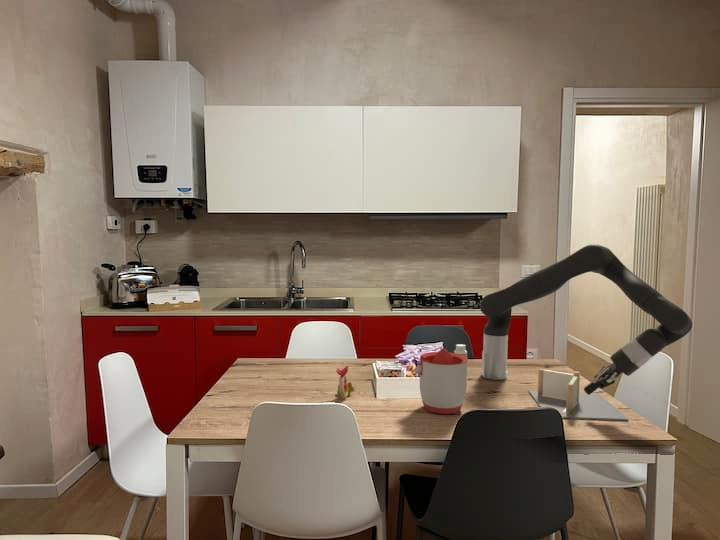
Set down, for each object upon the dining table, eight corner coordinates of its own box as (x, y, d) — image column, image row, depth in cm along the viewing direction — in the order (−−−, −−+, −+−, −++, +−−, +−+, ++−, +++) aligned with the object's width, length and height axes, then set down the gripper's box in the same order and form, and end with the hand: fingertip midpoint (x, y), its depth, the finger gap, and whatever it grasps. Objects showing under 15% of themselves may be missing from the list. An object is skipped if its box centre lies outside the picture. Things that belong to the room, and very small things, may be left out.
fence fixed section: (579, 401, 176) (580, 372, 175) (577, 402, 174) (579, 373, 173) (538, 393, 183) (539, 365, 182) (536, 395, 182) (538, 366, 181)
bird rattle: (353, 405, 177) (355, 387, 185) (351, 380, 172) (354, 363, 180) (335, 405, 178) (337, 387, 186) (333, 380, 173) (336, 362, 180)
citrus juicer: (411, 400, 177) (412, 342, 175) (462, 401, 177) (464, 343, 175) (414, 417, 162) (415, 353, 160) (470, 418, 161) (472, 354, 159)
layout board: (548, 418, 162) (548, 415, 161) (528, 392, 186) (528, 390, 186) (628, 421, 160) (628, 418, 160) (598, 394, 184) (598, 392, 184)
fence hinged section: (571, 401, 175) (572, 375, 174) (578, 402, 174) (579, 376, 173) (565, 411, 165) (566, 384, 164) (572, 412, 164) (573, 385, 163)
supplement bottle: (467, 366, 220) (468, 344, 219) (466, 370, 214) (466, 347, 214) (454, 365, 221) (455, 343, 220) (452, 368, 216) (453, 346, 215)
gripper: (619, 343, 166) (576, 377, 171) (624, 352, 153) (578, 389, 159) (636, 361, 164) (593, 394, 170) (644, 372, 152) (596, 408, 157)
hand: (585, 391), depth 164 cm, fingers closed
